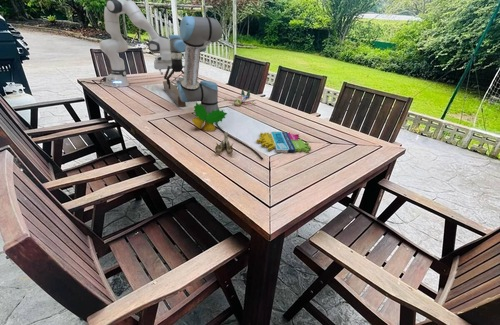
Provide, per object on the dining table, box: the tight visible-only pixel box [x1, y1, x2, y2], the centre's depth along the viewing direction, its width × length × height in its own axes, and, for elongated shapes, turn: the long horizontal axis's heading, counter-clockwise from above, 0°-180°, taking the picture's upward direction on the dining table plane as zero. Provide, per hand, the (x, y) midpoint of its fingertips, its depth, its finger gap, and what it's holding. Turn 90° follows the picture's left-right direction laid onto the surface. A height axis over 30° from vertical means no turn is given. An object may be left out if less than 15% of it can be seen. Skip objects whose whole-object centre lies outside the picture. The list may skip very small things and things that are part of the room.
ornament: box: [191, 101, 228, 132], centre depth 162 cm, size 21×8×15 cm, turn 105°
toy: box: [223, 89, 257, 106], centre depth 219 cm, size 28×7×30 cm
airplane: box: [172, 74, 201, 88], centre depth 263 cm, size 38×32×10 cm
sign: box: [256, 131, 312, 154], centre depth 152 cm, size 26×2×30 cm
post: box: [162, 80, 187, 108], centre depth 218 cm, size 53×6×8 cm, turn 27°
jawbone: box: [214, 131, 234, 156], centre depth 136 cm, size 9×15×10 cm
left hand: (167, 74), depth 227 cm, fingers open, 8 cm apart
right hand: (178, 88), depth 199 cm, fingers open, 13 cm apart
